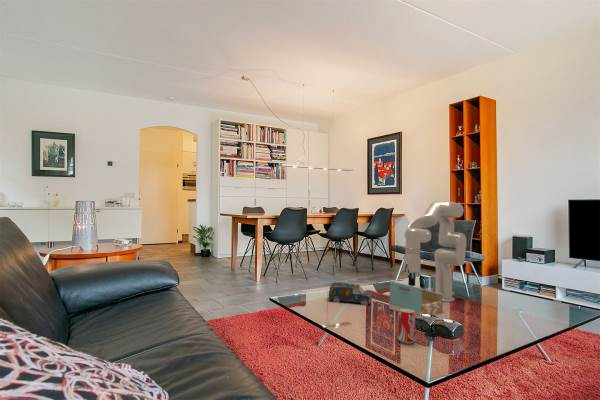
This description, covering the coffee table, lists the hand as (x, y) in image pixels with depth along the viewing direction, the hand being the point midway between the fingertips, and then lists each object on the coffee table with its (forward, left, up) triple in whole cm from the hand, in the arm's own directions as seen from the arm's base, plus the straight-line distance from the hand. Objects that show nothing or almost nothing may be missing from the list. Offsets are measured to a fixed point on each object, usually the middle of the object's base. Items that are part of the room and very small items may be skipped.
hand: (411, 285), depth 180 cm
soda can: (+37, +23, -15) cm, 46 cm away
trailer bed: (-4, 0, -14) cm, 15 cm away
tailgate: (+6, 0, -11) cm, 13 cm away
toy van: (+15, -32, -15) cm, 38 cm away
